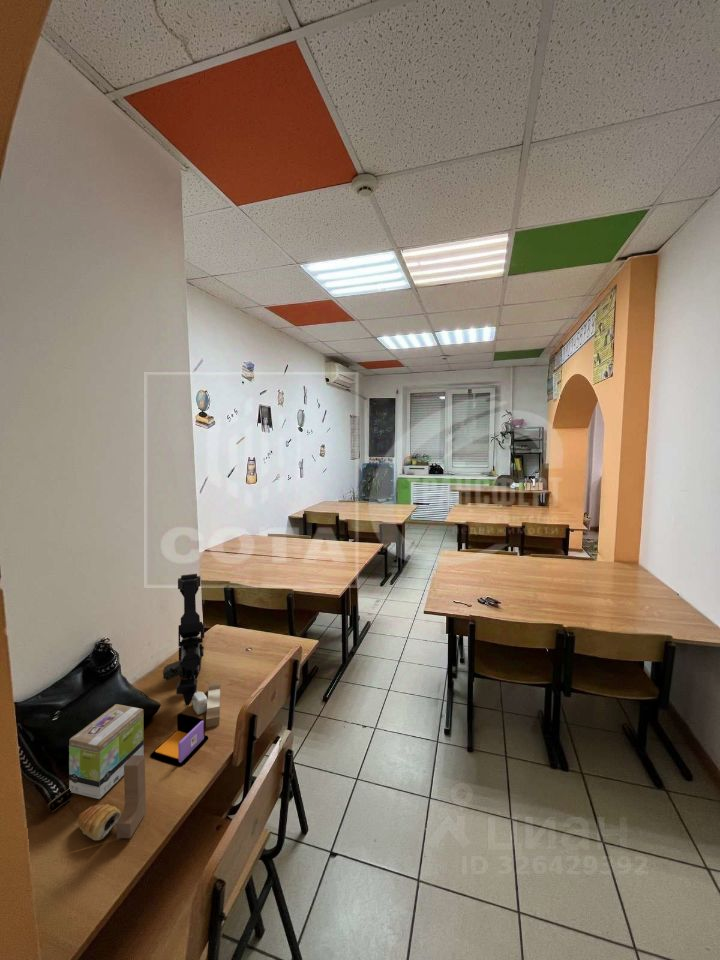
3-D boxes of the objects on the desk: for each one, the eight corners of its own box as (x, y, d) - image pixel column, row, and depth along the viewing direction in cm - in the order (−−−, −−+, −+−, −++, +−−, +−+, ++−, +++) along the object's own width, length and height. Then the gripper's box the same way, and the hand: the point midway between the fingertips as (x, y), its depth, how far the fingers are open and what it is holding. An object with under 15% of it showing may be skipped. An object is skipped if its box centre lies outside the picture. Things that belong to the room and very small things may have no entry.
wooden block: (133, 811, 94) (131, 754, 93) (146, 811, 94) (145, 754, 93) (116, 838, 87) (114, 777, 86) (130, 838, 87) (128, 777, 86)
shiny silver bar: (209, 691, 141) (208, 682, 141) (220, 689, 143) (220, 680, 142) (206, 728, 122) (206, 718, 122) (219, 725, 124) (219, 716, 124)
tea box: (100, 800, 97) (99, 746, 96) (68, 793, 99) (66, 739, 98) (145, 755, 111) (144, 707, 110) (116, 749, 113) (115, 702, 112)
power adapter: (186, 702, 135) (186, 688, 134) (199, 697, 138) (199, 683, 137) (196, 716, 127) (196, 701, 127) (209, 711, 130) (209, 696, 130)
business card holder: (210, 738, 119) (209, 717, 118) (181, 768, 107) (181, 745, 107) (179, 729, 122) (178, 709, 122) (148, 758, 111) (147, 735, 110)
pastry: (68, 832, 88) (67, 817, 88) (96, 805, 95) (95, 791, 94) (99, 844, 86) (98, 829, 85) (125, 816, 92) (124, 802, 92)
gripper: (169, 644, 141) (168, 685, 141) (159, 672, 123) (158, 718, 124) (202, 641, 144) (200, 681, 145) (197, 668, 126) (195, 713, 127)
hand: (189, 697), depth 135 cm, fingers open, 8 cm apart
